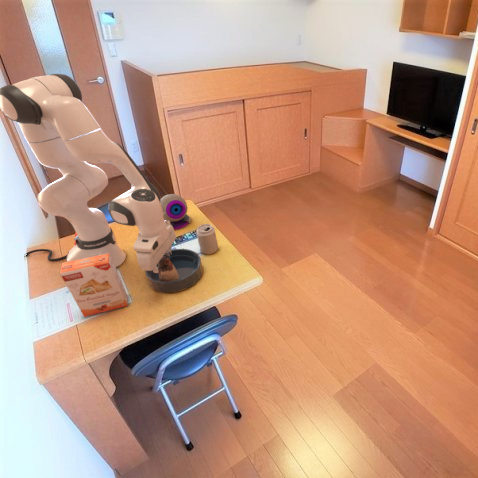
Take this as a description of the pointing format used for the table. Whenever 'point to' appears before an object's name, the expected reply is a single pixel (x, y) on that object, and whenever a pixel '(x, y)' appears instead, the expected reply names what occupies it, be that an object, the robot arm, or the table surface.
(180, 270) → the bowl
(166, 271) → the figurine
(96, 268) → the cracker box
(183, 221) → the webcam
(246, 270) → the table surface
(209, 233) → the can
